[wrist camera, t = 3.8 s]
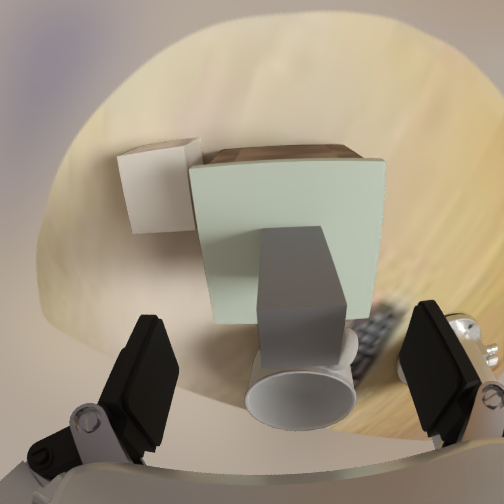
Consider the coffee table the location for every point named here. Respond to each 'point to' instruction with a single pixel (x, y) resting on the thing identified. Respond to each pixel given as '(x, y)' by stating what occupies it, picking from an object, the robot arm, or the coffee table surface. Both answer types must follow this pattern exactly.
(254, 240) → the lid
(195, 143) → the matte white cube
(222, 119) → the coffee table surface
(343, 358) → the teacup
